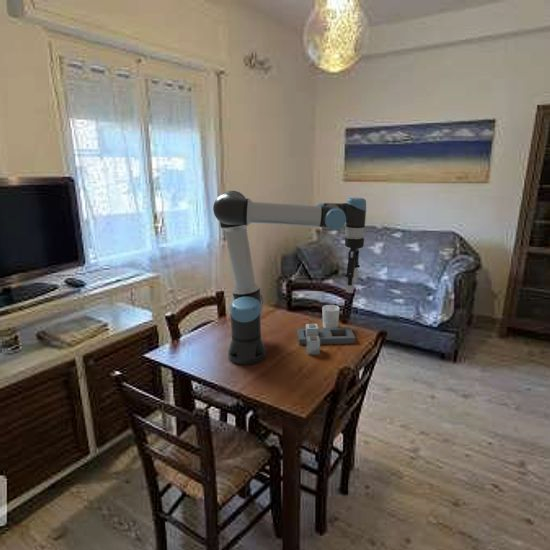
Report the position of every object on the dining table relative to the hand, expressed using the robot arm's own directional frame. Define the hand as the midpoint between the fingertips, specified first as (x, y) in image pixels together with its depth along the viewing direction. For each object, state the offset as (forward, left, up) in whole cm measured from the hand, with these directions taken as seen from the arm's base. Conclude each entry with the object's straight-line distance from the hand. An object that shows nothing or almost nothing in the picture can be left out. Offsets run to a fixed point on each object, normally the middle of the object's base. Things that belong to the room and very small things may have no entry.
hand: (351, 287), depth 167 cm
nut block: (-17, -9, -25) cm, 31 cm away
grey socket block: (-10, +3, -25) cm, 27 cm away
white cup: (-6, +14, -25) cm, 29 cm away
